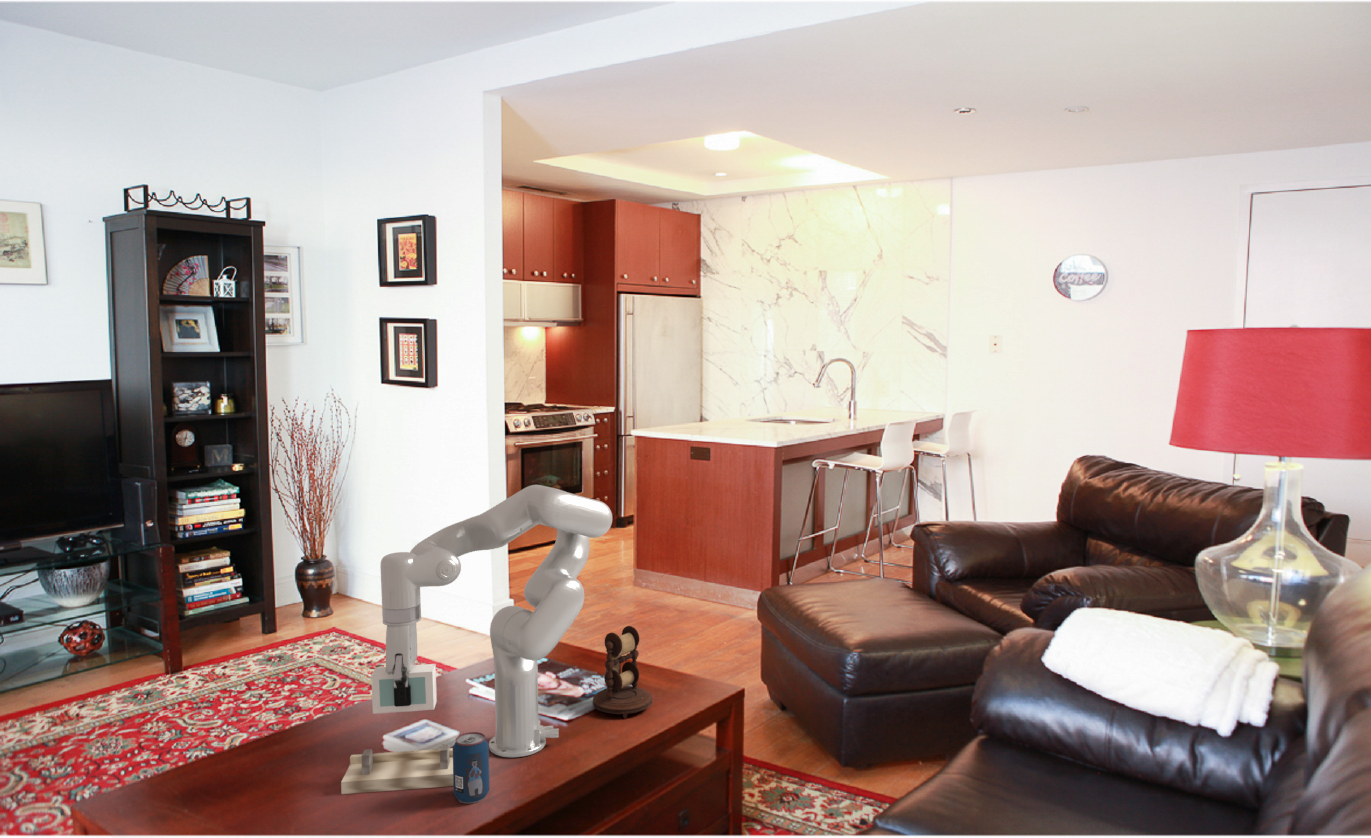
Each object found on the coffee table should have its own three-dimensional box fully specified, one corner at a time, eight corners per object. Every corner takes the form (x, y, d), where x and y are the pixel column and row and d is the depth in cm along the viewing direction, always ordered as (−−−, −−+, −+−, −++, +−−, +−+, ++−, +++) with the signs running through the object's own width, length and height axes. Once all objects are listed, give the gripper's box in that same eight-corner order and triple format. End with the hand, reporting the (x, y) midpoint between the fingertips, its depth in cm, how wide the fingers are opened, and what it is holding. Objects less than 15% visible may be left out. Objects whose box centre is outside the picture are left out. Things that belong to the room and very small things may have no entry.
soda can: (471, 785, 179) (470, 728, 179) (496, 793, 176) (495, 735, 175) (446, 799, 173) (444, 740, 173) (472, 808, 170) (470, 748, 169)
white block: (436, 701, 184) (435, 663, 183) (433, 709, 179) (432, 671, 179) (377, 705, 182) (375, 667, 181) (372, 713, 177) (371, 675, 177)
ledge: (468, 765, 188) (467, 735, 188) (464, 785, 179) (463, 754, 179) (351, 773, 185) (350, 743, 184) (341, 794, 176) (340, 762, 175)
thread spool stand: (619, 692, 229) (618, 617, 228) (663, 705, 221) (663, 627, 219) (580, 710, 217) (579, 631, 216) (626, 725, 209) (625, 642, 207)
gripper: (390, 603, 187) (393, 686, 188) (374, 627, 170) (377, 718, 172) (426, 601, 188) (429, 684, 189) (414, 625, 171) (417, 716, 173)
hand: (405, 699), depth 180 cm, fingers closed on white block, 4 cm apart
